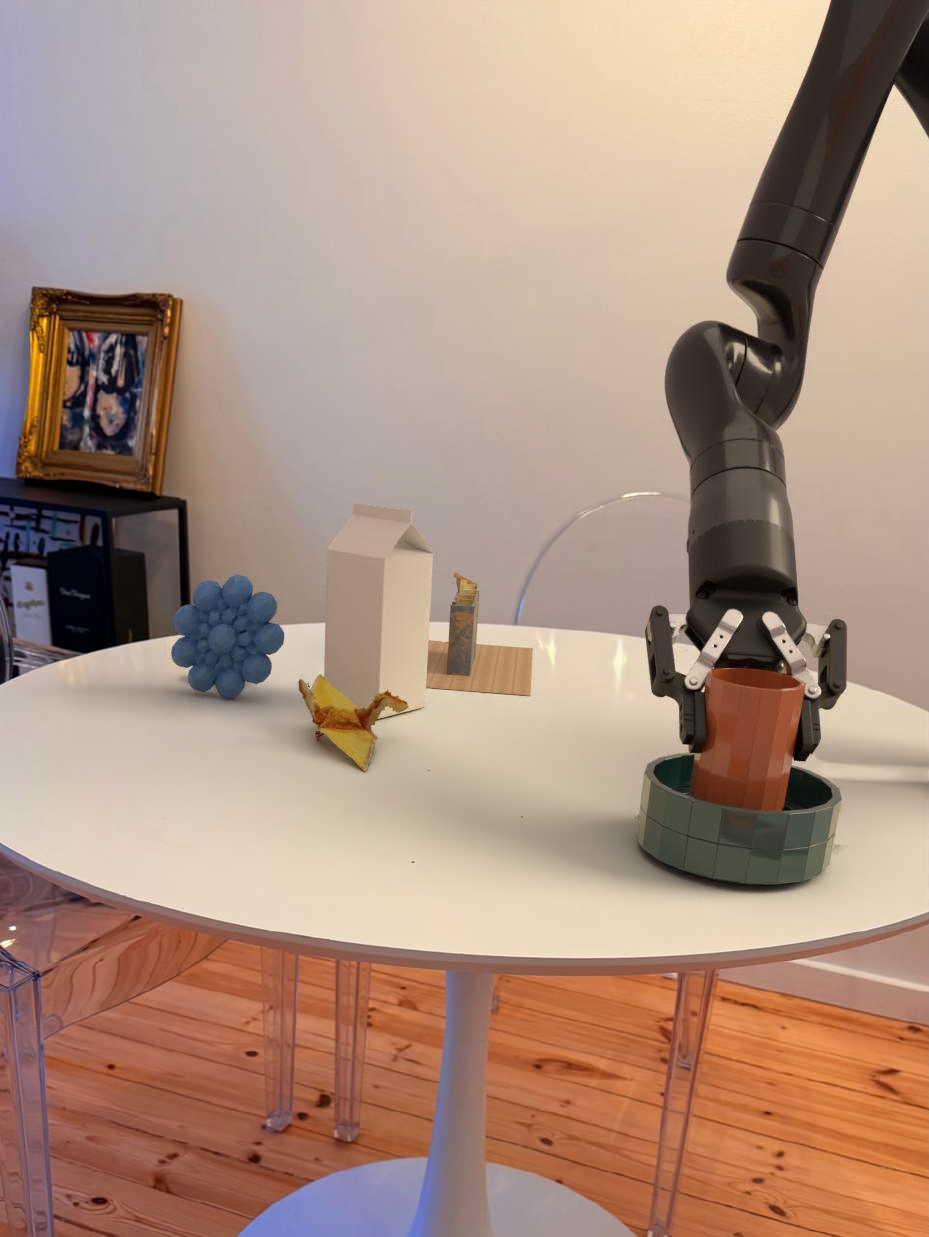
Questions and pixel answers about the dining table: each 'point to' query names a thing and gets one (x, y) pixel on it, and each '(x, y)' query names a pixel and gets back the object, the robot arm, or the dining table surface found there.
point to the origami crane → (346, 718)
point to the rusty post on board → (463, 626)
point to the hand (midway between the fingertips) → (750, 751)
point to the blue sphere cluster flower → (227, 636)
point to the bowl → (737, 828)
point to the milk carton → (378, 608)
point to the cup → (748, 738)
